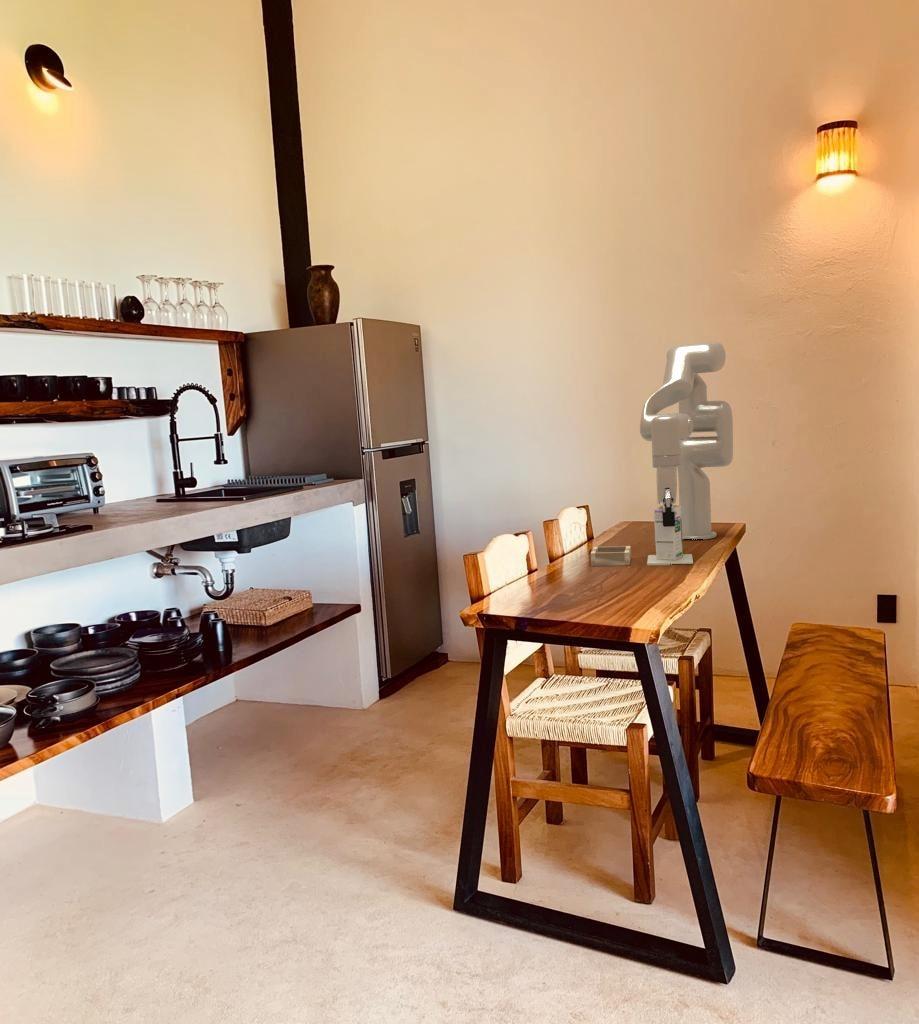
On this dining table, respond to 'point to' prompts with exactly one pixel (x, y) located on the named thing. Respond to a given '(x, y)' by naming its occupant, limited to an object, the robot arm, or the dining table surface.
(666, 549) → the syrup box
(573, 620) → the dining table surface
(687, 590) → the dining table surface
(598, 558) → the holder
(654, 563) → the mat
